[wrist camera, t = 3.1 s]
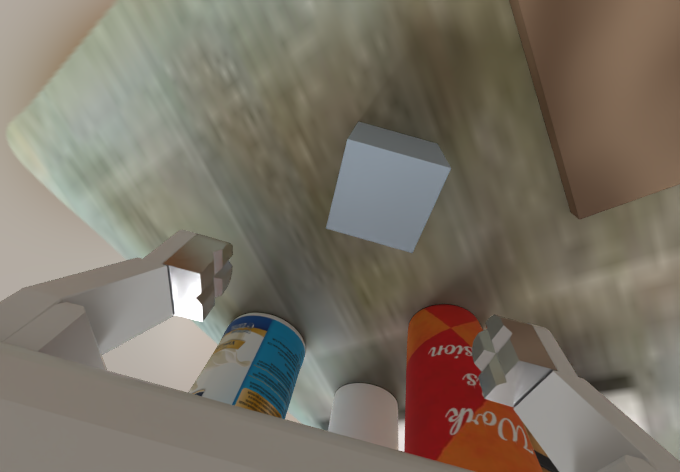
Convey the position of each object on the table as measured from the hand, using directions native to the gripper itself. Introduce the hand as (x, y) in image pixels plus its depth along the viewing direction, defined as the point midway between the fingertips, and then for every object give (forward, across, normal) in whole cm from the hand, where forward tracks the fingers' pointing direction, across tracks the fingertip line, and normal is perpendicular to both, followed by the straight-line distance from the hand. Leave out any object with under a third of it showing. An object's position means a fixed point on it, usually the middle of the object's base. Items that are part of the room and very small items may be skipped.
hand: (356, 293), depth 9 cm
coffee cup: (+12, -10, +12) cm, 19 cm away
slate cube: (+12, -1, 0) cm, 12 cm away
